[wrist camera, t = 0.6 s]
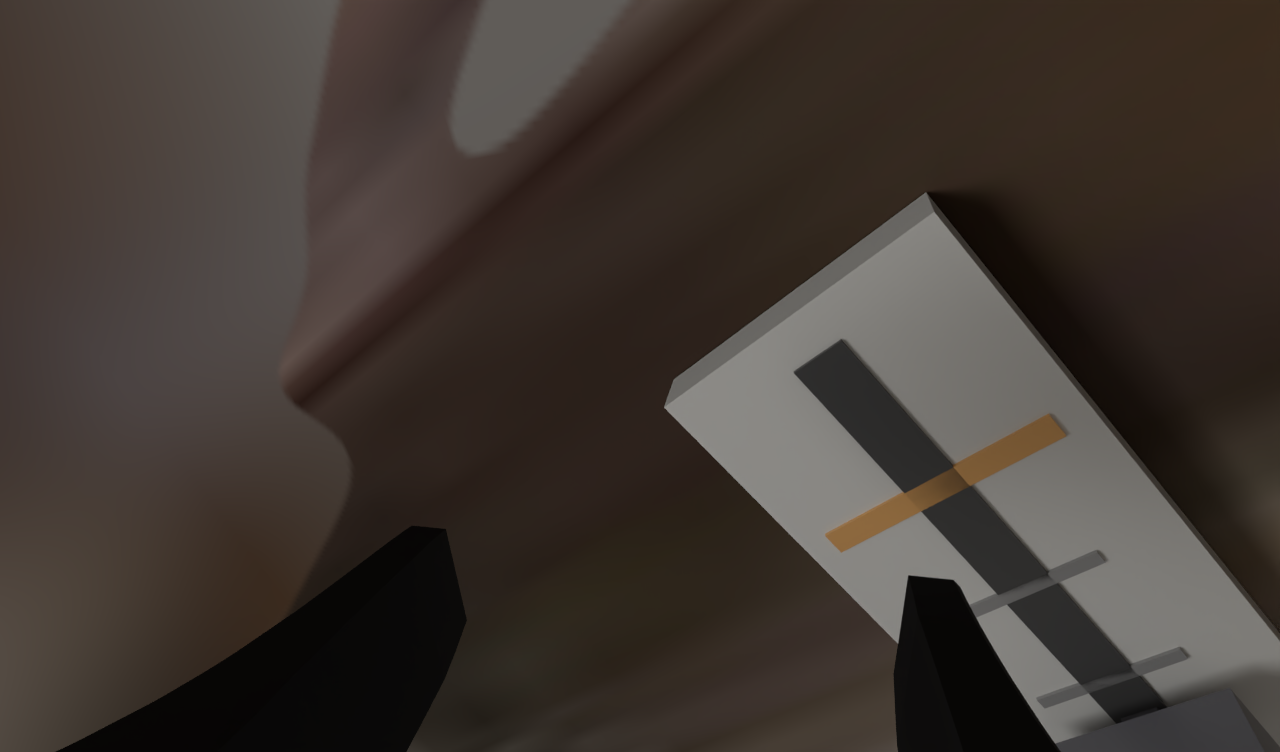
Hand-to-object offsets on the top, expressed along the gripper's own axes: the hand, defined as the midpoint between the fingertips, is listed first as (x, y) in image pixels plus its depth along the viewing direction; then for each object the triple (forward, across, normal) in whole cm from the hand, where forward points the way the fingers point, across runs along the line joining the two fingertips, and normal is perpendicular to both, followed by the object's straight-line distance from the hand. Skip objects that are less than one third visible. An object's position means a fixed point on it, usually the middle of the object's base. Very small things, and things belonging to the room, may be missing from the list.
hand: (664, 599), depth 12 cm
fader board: (+10, -8, +6) cm, 14 cm away
